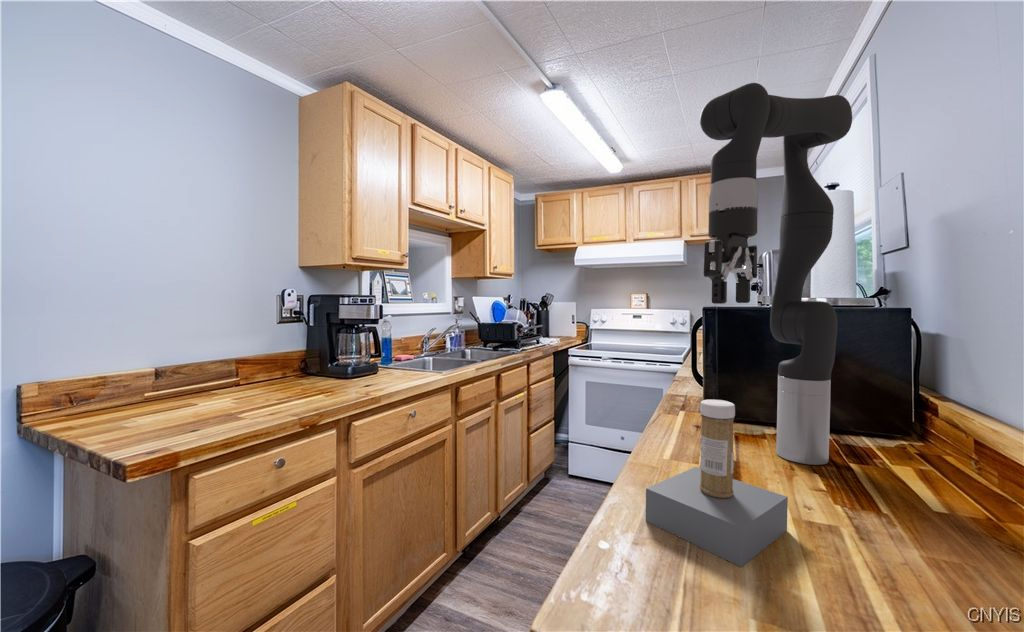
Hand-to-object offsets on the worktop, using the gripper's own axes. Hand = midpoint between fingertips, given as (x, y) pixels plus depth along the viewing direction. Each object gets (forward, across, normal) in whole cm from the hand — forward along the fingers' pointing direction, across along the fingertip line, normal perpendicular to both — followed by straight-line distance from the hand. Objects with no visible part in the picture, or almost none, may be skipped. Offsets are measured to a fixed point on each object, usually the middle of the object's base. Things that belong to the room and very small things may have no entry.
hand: (731, 303), depth 74 cm
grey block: (+33, +14, +5) cm, 36 cm away
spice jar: (+28, +14, +5) cm, 32 cm away
